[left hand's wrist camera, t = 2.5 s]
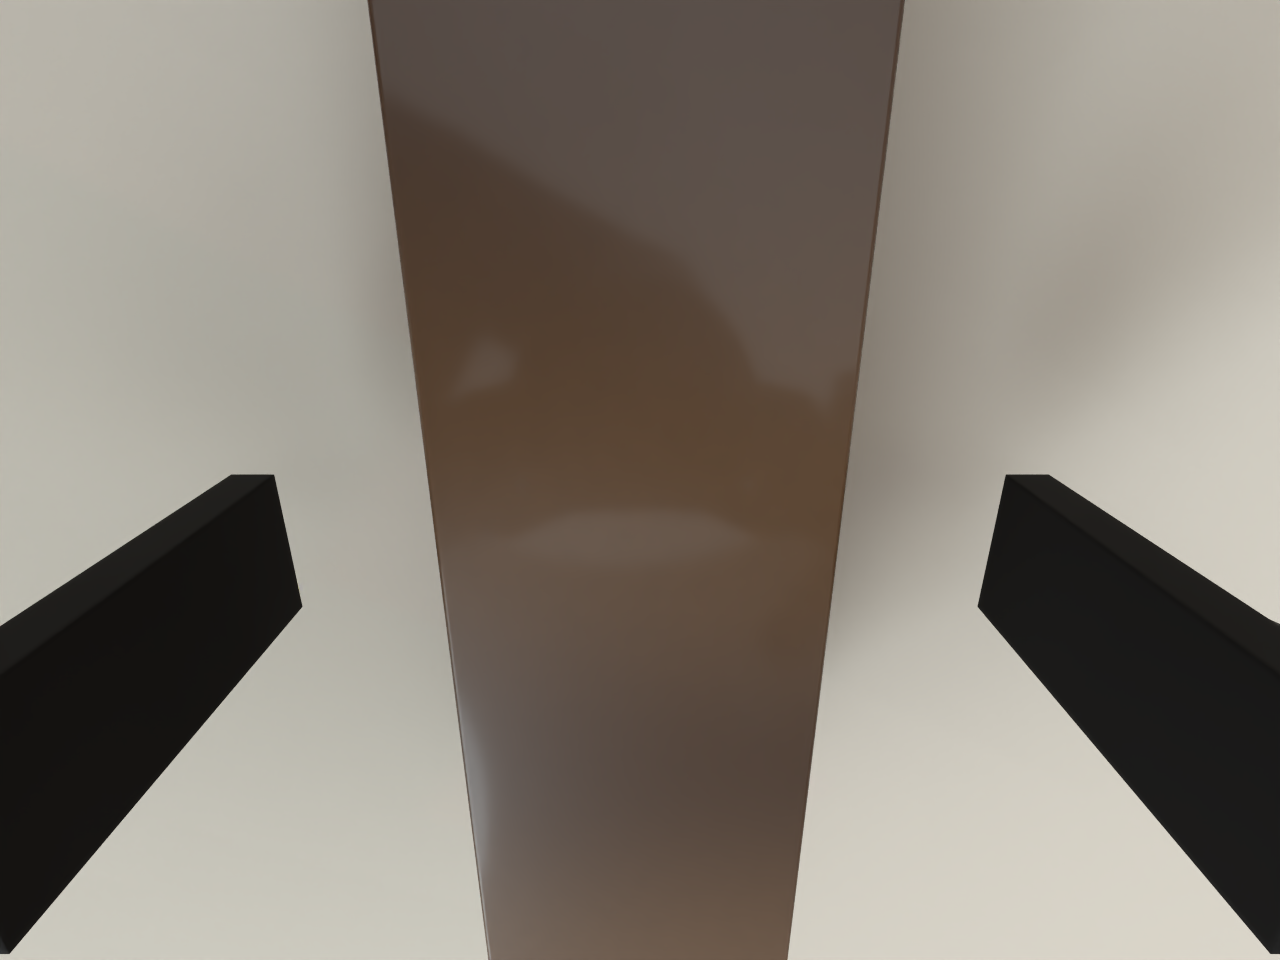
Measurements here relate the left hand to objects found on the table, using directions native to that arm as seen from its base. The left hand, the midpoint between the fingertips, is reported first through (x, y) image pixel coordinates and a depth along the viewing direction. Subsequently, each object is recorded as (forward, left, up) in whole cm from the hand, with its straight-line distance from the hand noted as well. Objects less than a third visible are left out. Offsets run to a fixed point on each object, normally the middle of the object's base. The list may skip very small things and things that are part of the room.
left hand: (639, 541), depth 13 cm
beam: (-12, +14, -3) cm, 19 cm away
